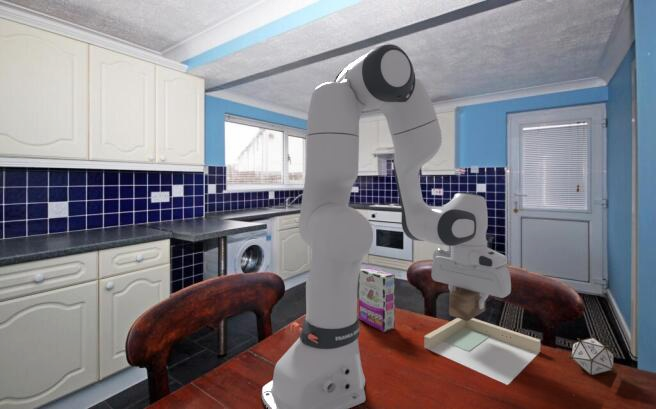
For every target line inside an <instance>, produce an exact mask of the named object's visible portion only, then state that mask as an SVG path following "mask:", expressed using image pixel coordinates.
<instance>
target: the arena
mask: <svg viewBox="0 0 656 409" xmlns="http://www.w3.org/2000/svg"><path fill="white" fill-rule="evenodd" d="M463 325H464V326H463ZM486 331H487V332H486ZM502 335H503V336H502ZM506 336H507V337H506ZM510 337H511V338H510ZM423 338H424V340H423V348H424V349H425V350H429V351H431V352H433V353H435V354H437V355H439V356H442V357H444V358H447V359H449V360H451V361H454V362H455V363H458V364H460V365H462V366H464V367H466V368H468V369H471V370H473V371H475V372H478V373H480V374H481V375H484V376H486V377H489V378H490V379H493V380H495V381H498V382H500V383H502V384H504V385H506V386H509V384H511V382H512V381H513V380H514V379H515V378H516V377H517V376H518V375H519V374H521V372H522V371H523V370H524V369H525V368H527V366H528V365H529V364H530V363H531V362H532V361H533V360H534V359H535V358H536V357H537V356H538V355H539V354H540V352H541V339H540V338H535V337H533V336H530V335H526V334H523V333H521V332H517V331H514V330H511V329H508V328H505V327H502V326H498V325H497V324H493V323H489V322H486V321H483V320H481V319H478V318H475V317H474V318H472V319H470V320H469V321H465V320H462V319H459V318H456V317H455V318H454V319H453V320H451V321H449V322H447V323H445V324H443V325H442V326H440V327H438V328H437V329H435V330H432V331H431V332H429V333H427V334H425V335H424V336H423Z"/></svg>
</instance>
